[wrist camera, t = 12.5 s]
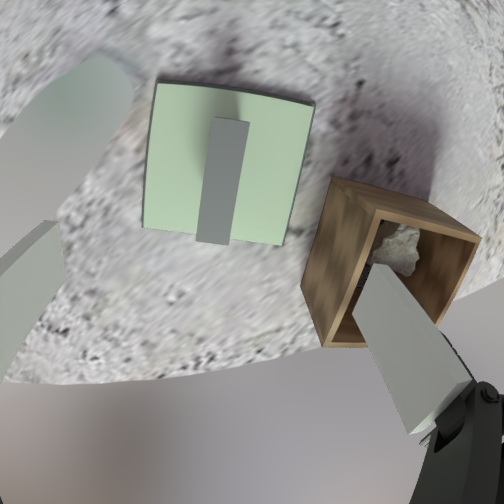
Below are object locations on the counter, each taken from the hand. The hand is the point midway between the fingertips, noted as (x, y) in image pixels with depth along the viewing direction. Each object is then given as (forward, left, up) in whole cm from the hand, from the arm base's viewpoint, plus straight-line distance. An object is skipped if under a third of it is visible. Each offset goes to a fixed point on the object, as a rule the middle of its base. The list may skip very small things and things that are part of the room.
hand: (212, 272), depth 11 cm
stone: (+5, +24, -24) cm, 34 cm away
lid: (0, 0, -23) cm, 23 cm away
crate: (+7, +21, -24) cm, 32 cm away
